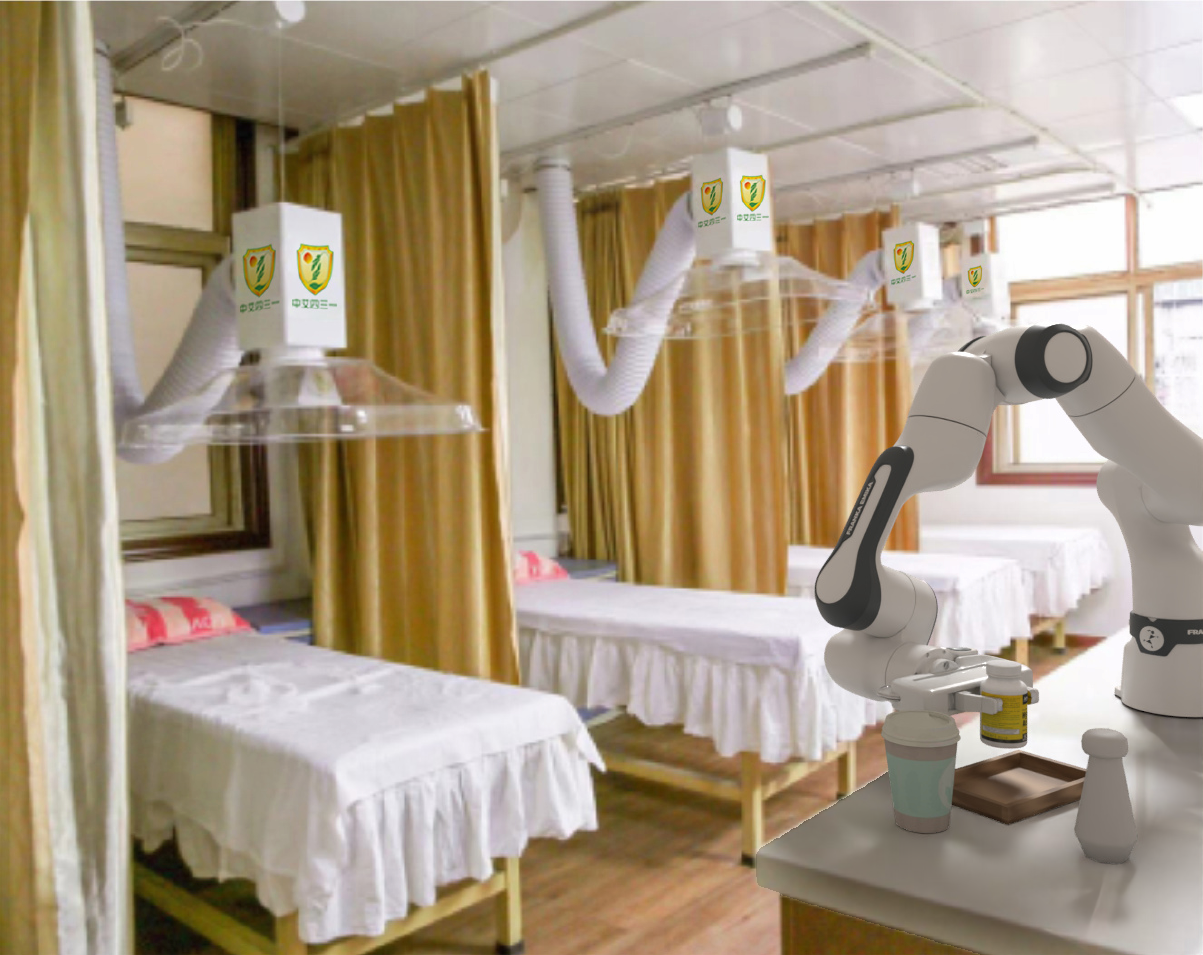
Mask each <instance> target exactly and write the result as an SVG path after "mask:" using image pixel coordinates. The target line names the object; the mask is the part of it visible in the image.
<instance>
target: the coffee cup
mask: <svg viewBox="0 0 1203 955" xmlns="http://www.w3.org/2000/svg"><path fill="white" fill-rule="evenodd" d="M881 730H882V731H881V732H880V734H881V737H882V738H883V741H884V747H885V748H884V749H885V756H886V762H887V764H886V765H887V769H888V770H887V771H888V777H889V784H890V791H891V799H892V807H893V815H894V819H895V820H894V821H895V824H896V823H897V824H896V825H897V826H898V827H899V826H900V827H899V828H901V827H902V828H901V829H903V828H905V829H907V830H906V831H908V830H909V832H912V831H913V832H914V833H916V834H917V833H919V834H936V832H937V833H940V832H944V831H946V830H947V829H949V828H950V822H951V813H952V805H951V804H952V794H953V784H954V773H955V769H956V761H957V753H958V751H957V750H958V743H959V741H960V740H961V735H960V730H959V728H958V726H957V723H956V720H955V718H954V717H953V716H952V715H951V716H949V715H947V714H944V713H940V712H935V711H928V710H902V711H897V710H896V711H894V712H890V713H888V714H887V715H886V716H885V720H884V723H883V725H882V726H881ZM905 829H904V830H905ZM913 832H912V833H913Z"/></svg>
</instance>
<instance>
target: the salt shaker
mask: <svg viewBox="0 0 1203 955" xmlns="http://www.w3.org/2000/svg"><path fill="white" fill-rule="evenodd" d="M1080 742H1081V749H1082V752H1084V753H1085V754H1086V755H1088V760H1087V766H1086V769H1087V770H1086V775H1085V780H1084V784H1083V789H1082V794H1081V799H1080V800H1079V803H1078V804H1079V805H1078V808H1077V814H1076V820H1075V823H1074V827H1073V830H1074V835H1075V837H1076V838H1077V841H1078V842H1079V844H1080V846H1081V849H1082V851H1083V853H1084V855H1085V857H1086V858H1087V859H1091V860H1093V861H1095V862H1097V863H1100V864H1115V865H1121V864H1122V863H1124V862H1126V861H1127V860H1129V858H1130V856H1131V854H1132V852H1133V850H1134V848H1135V846H1136V843H1137V841H1138V833H1137V828H1136V822H1135V818H1134V813H1133V807H1132V802H1131V797H1130V792H1129V788H1128V781H1127V777H1126V772H1125V766H1124V761H1123V758H1125V757H1126V756H1127V755H1128V752H1129V740H1128V738H1127V737H1126V736H1125V735H1124V734H1123V733H1122V732H1121V731H1118V730H1116V729H1115V730H1114V729H1110V728H1104V727H1103V728H1101V727H1094V728H1090V729H1087V730H1086V731H1084V732H1083V734H1082V736H1081V741H1080Z"/></svg>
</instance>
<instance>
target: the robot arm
mask: <svg viewBox="0 0 1203 955" xmlns="http://www.w3.org/2000/svg"><path fill="white" fill-rule="evenodd" d="M1049 399H1050V400H1051V399H1055V400H1056V401H1057V404H1059V406H1060V407H1061V409H1062V410H1063V411H1064V413H1065V414H1066V415H1067V417H1068V418H1069V419H1070V421H1071V422H1072V423H1073V425H1074V426H1075V427H1076V429H1078V431H1079V432H1080V434H1081V435H1082V436H1083V438H1084V439H1085V440H1086V441H1087V443H1088V444H1089V445H1090V446H1091V448H1092V449H1093V451H1095V452H1096V453H1097V454H1099V455H1100V456H1101V457H1103V458H1105V459H1107V460H1105V462H1104V463H1103V464H1102V466H1101V467H1100V469H1099V471H1098V473H1097V477H1096V483H1095V484H1096V485H1095V486H1096V492H1097V496H1098V498H1099V500H1100V501H1101V503H1102V504H1103V505H1104V506H1105V508H1107V510H1108V511H1109V512H1110V513H1111V514H1112V516H1113V517H1114V518H1115V520H1116V522H1117V525H1118V527H1119V528H1120V531H1121V533H1122V537H1123V539H1124V542H1125V545H1126V548H1127V549H1126V550H1127V551H1128V555H1129V556H1128V557H1129V561H1130V569H1131V572H1130V573H1131V591H1132V610H1131V611H1130V612H1129V619H1128V625H1129V634H1130V636H1131V638H1130V639H1129V641H1127V642H1126V643H1125V644H1124V646H1123V653H1122V666H1121V677H1120V678H1121V680H1120V685H1117V686H1115V687H1114V692H1113V693H1114V695H1116V696H1117V697H1119V698H1121V702H1122V703H1123V704H1124V705H1125V706H1128V707H1130V708H1133V709H1135V710H1138V711H1141V712H1142V711H1144V712H1147V713H1152V714H1156V715H1163V716H1171V717H1172V716H1173V717H1180V718H1181V717H1182V718H1186V717H1187V718H1203V550H1202V549H1201V548H1200V546H1199V545H1198V544H1197V542H1196V541H1195V539H1194V537H1193V534H1192V531H1191V529H1190V526H1195V527H1203V438H1202V436H1201V437H1200V436H1199V434H1196V432H1194V431H1193V430H1192V429H1191V428H1189V427H1187V426H1186V425H1185V424H1184V423H1182V422H1181V421H1180V420H1178V419H1177V418H1176V417H1175V416H1174V415H1173V414H1172V413H1171V412H1169V410H1168V409H1166V408H1165V406H1163V404H1162V403H1161V402H1160V401H1159V399H1158V398H1157V397H1156V396H1155V395H1154V394H1153V392H1152V391H1151V389H1150V388H1149V387H1148V386H1147V384H1146V383H1145V382H1144V380H1143V379H1142V377H1141V376H1140V375H1139V374H1138V373H1137V371H1136V370H1135V368H1134V367H1133V366H1132V365H1131V363H1130V362H1129V361H1128V360H1127V359H1126V357H1125V356H1124V355H1123V354H1122V353H1121V352H1120V351H1119V349H1117V347H1115V345H1114V344H1113V343H1111V341H1109V340H1108V339H1107V337H1105V336H1104V335H1103V334H1102V333H1100V332H1099V331H1098V330H1097V329H1095V328H1094V327H1092V326H1091V325H1086V324H1071V325H1068V324H1065V323H1061V322H1056V321H1055V322H1053V321H1041V322H1037V323H1035V324H1025V325H1017V326H1012V327H1007V328H1005V329H1002V330H1000V331H997V332H994V333H991V334H988V335H981V336H978V337H976V338H973V339H971V340H970V341H968V342H966V343H965V344H964V345H962V346H961V347H960V348H959V349H958V350H957V351H951V352H946V353H943V354H940V355H939V356H937V357H935V358H934V359H933V360H932V361H931V363H930V364H929V366H928V368H927V370H926V371H925V373H924V375H923V377H922V379H921V381H920V383H919V386H918V387H917V389H916V393H915V395H914V398H913V400H912V403H911V406H910V408H909V411H908V415H907V419H906V421H905V424H904V427H903V429H902V432H901V434H900V435H899V437H898V439H897V440H896V442H895V443H894V445H892V446H891V447H888V448H886V449H884V451H883V452H881V453H880V455H879V456H878V457H877V459H876V460H875V462H874V463H873V464H872V467H871V469H870V471H869V473H868V475H867V477H866V478H865V481H864V483H863V485H862V487H861V490H860V492H859V494H858V496H857V498H856V500H855V503H854V505H853V508H852V510H851V511H850V514H849V517H848V518H847V520H846V523H845V525H844V528H843V529H842V532H841V533H840V536H839V539H838V541H837V543H836V544H835V546H834V548H833V550H832V551H831V553H830V554H829V556H828V557H827V559H826V560H825V562H824V563H823V565H822V567H821V568H820V569H819V571H818V574H817V576H816V579H815V583H814V600H815V603H816V606H817V609H818V612H819V614H820V615H821V617H822V619H823V620H824V621H825V622H826V623H827V624H829V625H831V626H832V627H835V628H840V629H842V630H841V631H839V632H838V633H835V634H834V635H833V636H831V637H830V638H829V639H828V641H827V643H826V645H825V648H824V651H823V652H824V655H823V659H824V660H823V662H824V666H825V669H826V672H827V673H828V675H829V677H830V679H831V680H832V681H833V682H834V683H835V684H836V685H837V686H838V687H840V688H842V689H844V690H845V691H847V692H849V693H851V694H854V695H857V696H859V697H862V698H865V699H868V700H870V701H871V700H872V701H876V702H881V703H882V702H889V703H890V704H891V707H892V708H893V709H894V710H896V711H902V710H928V711H935V712H940V713H944V714H947V715H949V716H951V717H952V716H956V715H958V714H959V715H960V714H963V713H980V712H984V713H988V714H992V715H993V714H996V713H1000V712H1002V711H1003V707H1002V704H1003V702H1002V699H1001V698H998V697H994V696H981V695H980V684H981V682H982V681H983V680H984V679H986V678H988V675H987V674H986V662H988V661H991V660H1008V659H1005V658H1001V657H997V656H992V655H988V654H979V650H978V649H977V648H973V647H969V646H968V647H966V646H965V647H964V646H963V647H962V646H961V647H960V646H959V647H957V646H956V647H941V646H936V645H930V644H929V643H930V640H931V637H932V634H933V632H934V628H935V626H936V622H937V618H938V611H939V609H938V608H939V605H938V599H937V596H936V594H935V591H934V589H933V588H932V587H931V585H930V584H929V583H927V582H926V581H925V580H923V579H920V578H918V577H916V576H913V575H911V574H908V573H906V572H903V571H901V570H897V569H894V568H891V567H889V566H886V565H884V564H883V563H882V560H881V559H882V558H881V556H882V552H883V550H884V548H885V546H886V543H887V541H888V539H889V536H890V535H891V532H892V529H893V527H894V524H896V520H897V518H898V516H899V513H900V511H901V509H902V508H903V506H904V505H905V504H906V502H907V501H908V500H909V499H910V498H912V497H913V496H915V495H918V494H923V493H928V492H929V493H931V492H932V493H933V492H942V491H946V490H950V489H953V488H956V487H957V486H960V485H962V484H964V483H965V482H966V481H967V480H969V479H970V478H971V477H972V476H973V475H974V472H975V471H976V469H977V468H978V466H979V463H980V460H981V459H982V456H983V452H984V449H985V446H986V442H987V438H988V434H989V430H990V426H991V421H992V417H993V414H994V412H995V410H996V409H997V407H998V406H1017V405H1018V406H1019V405H1026V404H1028V403H1033V402H1037V401H1041V400H1042V401H1043V400H1049ZM1008 661H1010V660H1008ZM1020 664H1021V672H1022V673H1021V676H1020V677H1019V680H1020V681H1022V682H1024V683H1025V684H1026V686H1027V692H1028V696H1027V706H1031V705H1033V704H1034V705H1035V704H1038V703H1039V701H1040V692H1039V690H1038V689H1037V688H1035V687H1034V680H1033V678H1034V676H1033V675H1034V674H1033V670H1032V669H1031V668H1030V667H1029V666H1027V665H1025V664H1022V663H1020Z"/></svg>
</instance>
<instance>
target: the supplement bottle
mask: <svg viewBox="0 0 1203 955" xmlns="http://www.w3.org/2000/svg"><path fill="white" fill-rule="evenodd" d="M1021 664H1022V663H1020V662H1018V661H1014V660H1009V661H1008V659H1006V660H991V661H988V662H986V674H987V675H988V678H986V679H984V680H983V681H982V682H981V684H980V695H981V696H994V697H998V698H1001V699H1002V702H1003V704H1002V707H1003V711H1002V712H1000V713H996V714H993V715H992V714H988V713H984V712H979V739H980V742H981V743H983V744H984V745H986V746H989V747H992V748H996V749H997V748H998V749H1008V750H1009V749H1021V748H1024V747H1026V745H1027V744H1028V705H1027V696H1028V692H1027V686H1026V684H1025V683H1024V682H1022V681H1020V680H1019V677H1020V676H1021V673H1022V672H1021Z"/></svg>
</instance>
